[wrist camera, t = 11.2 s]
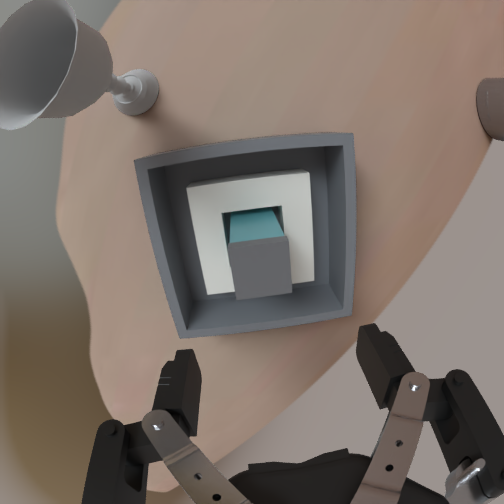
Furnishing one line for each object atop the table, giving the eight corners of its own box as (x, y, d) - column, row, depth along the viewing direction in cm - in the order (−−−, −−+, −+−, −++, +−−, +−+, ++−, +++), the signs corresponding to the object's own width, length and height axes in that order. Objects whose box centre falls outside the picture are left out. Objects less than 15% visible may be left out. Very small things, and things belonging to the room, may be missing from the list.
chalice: (96, 83, 23) (-28, 60, 6) (150, 48, 22) (59, -28, 5) (122, 138, 26) (0, 159, 9) (179, 103, 25) (98, 66, 8)
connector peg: (271, 204, 29) (288, 240, 20) (275, 243, 31) (292, 292, 21) (229, 210, 29) (227, 248, 20) (235, 248, 31) (236, 300, 21)
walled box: (330, 132, 27) (353, 133, 21) (335, 287, 34) (351, 315, 28) (153, 154, 27) (133, 160, 21) (187, 306, 34) (179, 338, 28)
